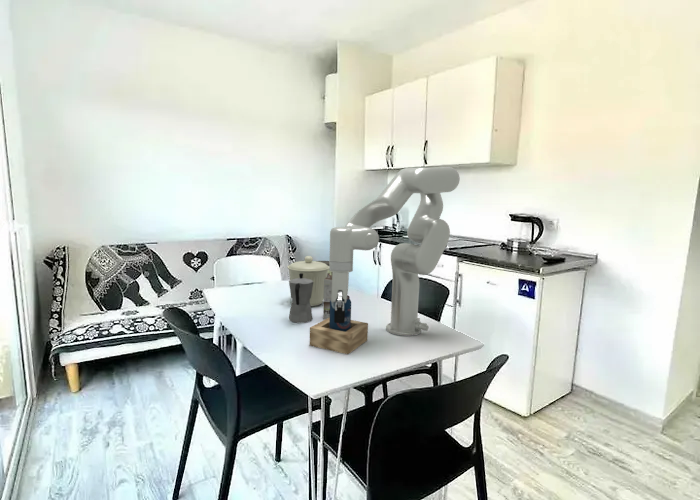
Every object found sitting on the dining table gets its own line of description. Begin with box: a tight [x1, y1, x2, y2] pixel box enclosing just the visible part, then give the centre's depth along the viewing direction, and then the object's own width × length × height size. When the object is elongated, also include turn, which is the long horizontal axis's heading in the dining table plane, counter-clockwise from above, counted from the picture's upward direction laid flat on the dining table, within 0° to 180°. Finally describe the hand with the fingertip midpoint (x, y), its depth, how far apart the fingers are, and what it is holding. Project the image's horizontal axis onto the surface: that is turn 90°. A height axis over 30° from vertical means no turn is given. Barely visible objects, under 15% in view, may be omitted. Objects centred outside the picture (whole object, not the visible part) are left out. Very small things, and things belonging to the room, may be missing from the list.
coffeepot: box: [288, 273, 314, 324], centre depth 157 cm, size 15×9×18 cm, turn 176°
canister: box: [286, 255, 329, 307], centre depth 180 cm, size 18×18×21 cm
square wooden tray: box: [309, 317, 369, 355], centre depth 136 cm, size 14×14×6 cm
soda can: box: [329, 294, 352, 332], centre depth 135 cm, size 7×7×12 cm
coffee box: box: [322, 275, 332, 321], centre depth 162 cm, size 9×6×16 cm
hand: (339, 317), depth 135 cm, fingers open, 9 cm apart
